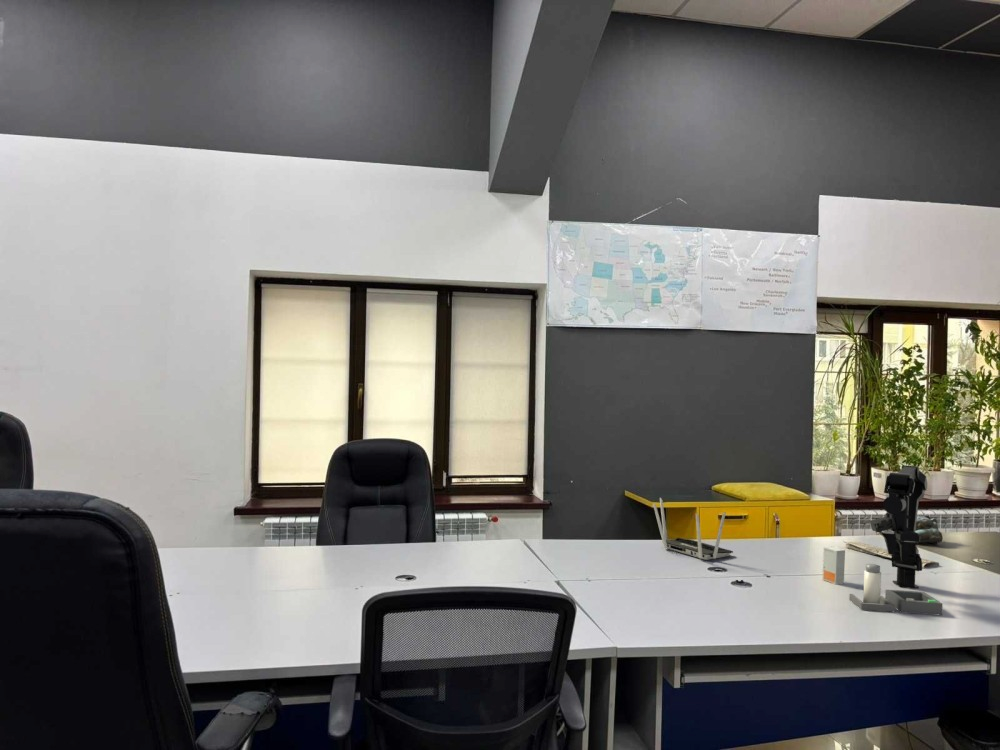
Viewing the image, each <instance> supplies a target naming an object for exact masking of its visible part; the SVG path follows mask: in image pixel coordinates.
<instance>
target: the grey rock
mask: <svg viewBox="0 0 1000 750" xmlns="http://www.w3.org/2000/svg"><path fill="white" fill-rule="evenodd" d="M915 532H916V533H918V534H919V535H920V542H919V543H922V544H923V543H925V544H926V543H929V544H938V543H941V542H943V534H942V531H940V530H939V526H938V519H937V518H935V517H933V518H931V517H930V515H926V516H917V521H916V531H915Z"/></svg>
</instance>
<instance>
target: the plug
mask: <svg viewBox="0 0 1000 750" xmlns="http://www.w3.org/2000/svg"><path fill="white" fill-rule="evenodd" d="M881 584H882V571H881V565H878V564H876V563H866V564H865V569H864V571H863V595H862V597H863V600H862V602H863V603H877V604H881V603H880V596H881V586H882V585H881Z"/></svg>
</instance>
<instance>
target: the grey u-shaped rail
mask: <svg viewBox="0 0 1000 750" xmlns="http://www.w3.org/2000/svg"><path fill="white" fill-rule="evenodd" d="M848 597H849V598H848V599H849V601H850V602H851V601H852V602H851V603H852V604H853V605H854V606H856V607H857V606H858V607H859V610H861V611H872V610H875V612H887V611H895V609H896V608H895V605H893V604H892V603H891V602H889V601H888V600H887V599H885V597H884V596H883V595H880V604H877V603H863V600H861V599H860V598H858V596H856V595H855V594H853V593H849V596H848ZM858 607H857V608H858ZM895 612H896V611H895Z"/></svg>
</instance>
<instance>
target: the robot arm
mask: <svg viewBox="0 0 1000 750" xmlns="http://www.w3.org/2000/svg"><path fill="white" fill-rule="evenodd" d="M926 491H928V479H927V476H926V474H924V472H922V471H921V470H920V468H919V466H916V465H906V464H905V465H902V467H901V469H900V470H899V471H898V472H894V471H893V472H889V474H888V475H887V476H886V479H885V485H884V489H883V494H888V497H886V498H885V499H884V500H883V502H882V506H883V508H884V511H885V512H886V513H885V516H884V517H880V518H876V519H871V520H869V524H870V527H871V530H872V531H874V532H875V533H879V534H880V535H881V536H882V537H883V540H884V542H885V545H886V549H887V550H888V554H889V555H892V560H891V567H892V568H896V580H892V583H893V584H894V585H896V586H898V587H900V588H908V589H909V588H911V589H919V588H920V586H919V585H918V584H916V572H922V571H923V568H922V559H923V558H922V559H921V554H920V553H919V547H918V546H917V545H918V544H919V543H921V542H920V535H919V534H918V533H916V532H915V531H916V521H917V517H918V510H919V502H920V501H921V500H922V499H923V498H924V497H925V495H926V494H925V493H926ZM915 565H917V566H915Z"/></svg>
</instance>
